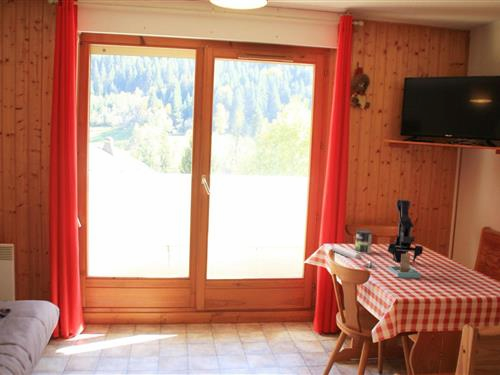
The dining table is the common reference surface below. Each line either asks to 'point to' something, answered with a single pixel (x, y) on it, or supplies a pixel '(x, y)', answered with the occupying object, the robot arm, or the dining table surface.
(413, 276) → the teal flat square frame
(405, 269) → the strut
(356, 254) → the tube
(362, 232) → the coffee can
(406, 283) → the dining table surface
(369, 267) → the stud mount
